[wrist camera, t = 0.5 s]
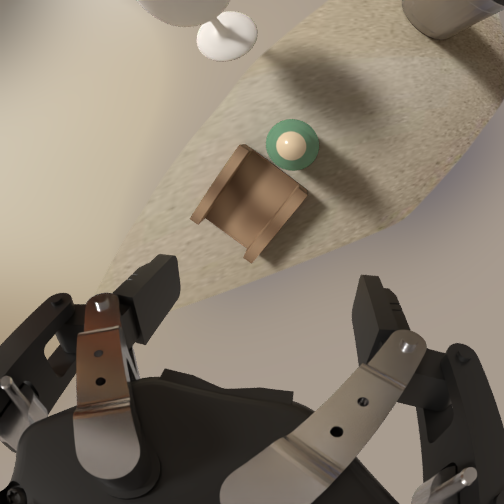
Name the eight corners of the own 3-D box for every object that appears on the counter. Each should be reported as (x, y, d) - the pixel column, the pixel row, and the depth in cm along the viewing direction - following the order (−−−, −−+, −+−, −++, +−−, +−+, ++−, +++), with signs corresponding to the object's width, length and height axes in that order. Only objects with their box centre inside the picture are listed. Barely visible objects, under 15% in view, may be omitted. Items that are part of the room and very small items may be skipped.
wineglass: (270, 31, 28) (239, -56, 9) (227, 72, 32) (155, 17, 13) (225, 3, 27) (166, -76, 8) (185, 42, 30) (96, -11, 11)
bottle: (289, 117, 33) (283, 102, 20) (321, 140, 34) (336, 141, 20) (266, 147, 35) (246, 152, 22) (297, 170, 36) (297, 189, 22)
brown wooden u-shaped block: (245, 144, 36) (239, 144, 32) (306, 189, 37) (307, 195, 33) (199, 211, 40) (189, 218, 37) (255, 252, 42) (251, 263, 38)
